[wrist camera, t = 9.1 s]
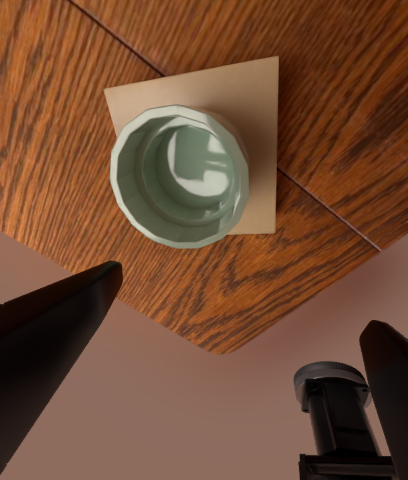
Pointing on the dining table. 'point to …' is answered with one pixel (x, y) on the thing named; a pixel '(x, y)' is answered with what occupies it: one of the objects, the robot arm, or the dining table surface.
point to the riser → (233, 109)
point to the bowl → (181, 175)
